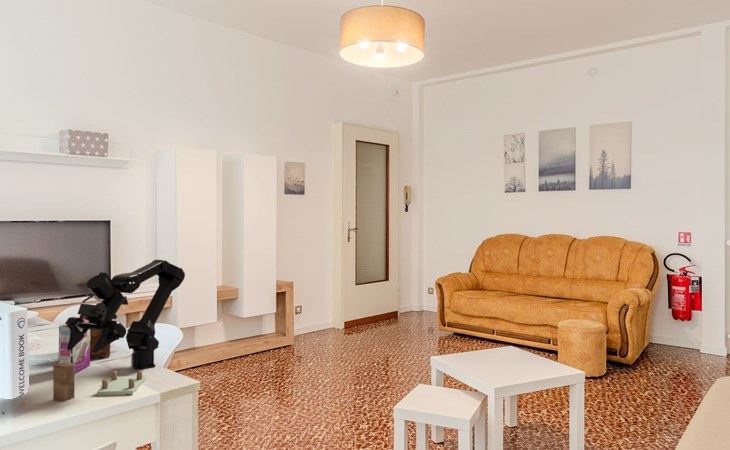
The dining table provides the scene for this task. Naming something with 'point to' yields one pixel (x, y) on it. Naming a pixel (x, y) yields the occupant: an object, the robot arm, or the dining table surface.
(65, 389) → the brown wooden block
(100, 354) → the wooden figurine
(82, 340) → the candy bar box
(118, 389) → the peg stand
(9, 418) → the dining table surface
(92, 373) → the dining table surface
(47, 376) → the dining table surface
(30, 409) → the dining table surface
